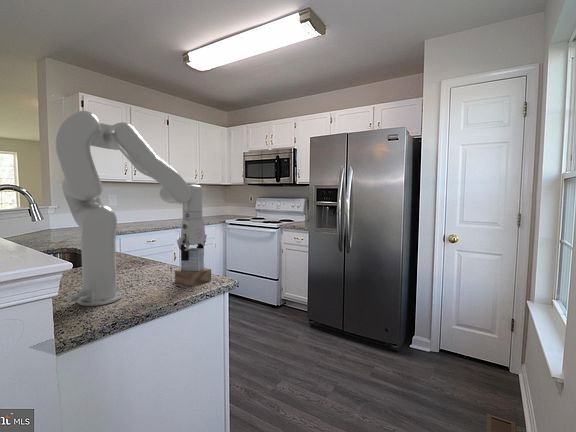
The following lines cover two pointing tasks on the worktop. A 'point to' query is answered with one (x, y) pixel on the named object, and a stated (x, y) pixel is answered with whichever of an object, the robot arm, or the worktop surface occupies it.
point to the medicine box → (194, 260)
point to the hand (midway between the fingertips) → (192, 258)
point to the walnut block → (192, 276)
